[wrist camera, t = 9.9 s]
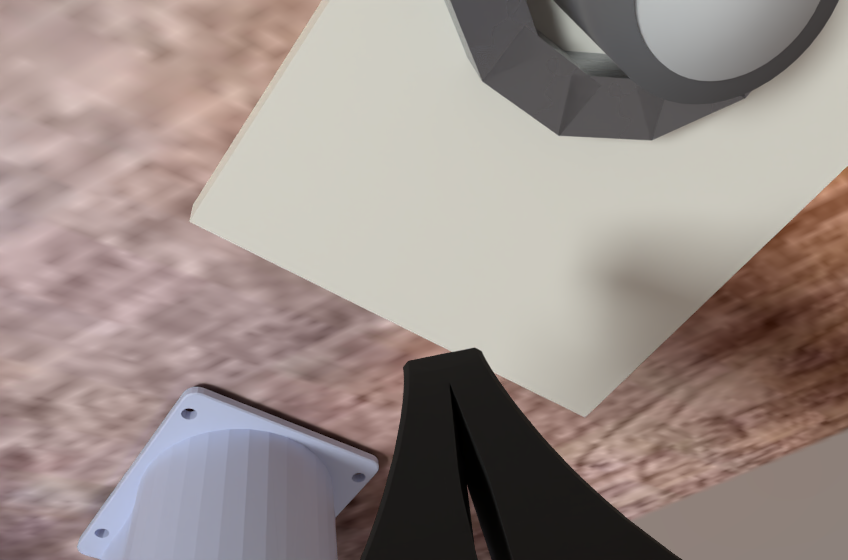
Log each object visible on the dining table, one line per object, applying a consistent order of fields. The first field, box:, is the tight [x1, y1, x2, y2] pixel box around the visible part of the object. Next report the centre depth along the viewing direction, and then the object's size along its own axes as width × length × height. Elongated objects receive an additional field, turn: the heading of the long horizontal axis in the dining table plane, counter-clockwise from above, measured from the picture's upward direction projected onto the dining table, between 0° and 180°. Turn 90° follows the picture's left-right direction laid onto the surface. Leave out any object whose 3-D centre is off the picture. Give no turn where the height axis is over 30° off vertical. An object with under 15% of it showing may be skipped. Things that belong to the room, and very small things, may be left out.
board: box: [189, 0, 848, 417], centre depth 21 cm, size 20×16×1 cm
